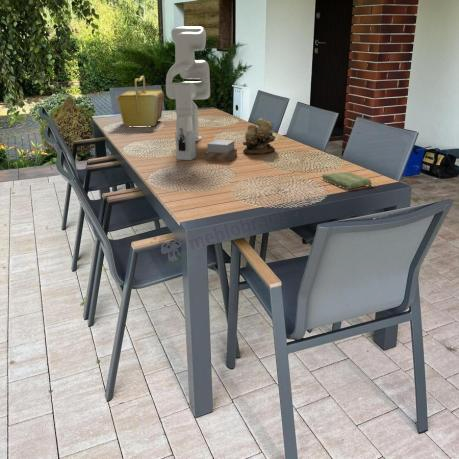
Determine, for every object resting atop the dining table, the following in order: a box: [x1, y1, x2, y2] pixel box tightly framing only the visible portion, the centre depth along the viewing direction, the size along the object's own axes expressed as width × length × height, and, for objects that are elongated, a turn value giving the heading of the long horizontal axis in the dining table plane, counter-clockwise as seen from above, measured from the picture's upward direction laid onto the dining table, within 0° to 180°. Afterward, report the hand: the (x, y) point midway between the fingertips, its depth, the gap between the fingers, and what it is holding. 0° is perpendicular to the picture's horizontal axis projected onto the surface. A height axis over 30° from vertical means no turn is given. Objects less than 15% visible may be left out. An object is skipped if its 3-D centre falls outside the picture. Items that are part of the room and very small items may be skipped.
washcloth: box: [321, 171, 372, 190], centre depth 190 cm, size 13×18×3 cm
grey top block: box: [207, 139, 235, 153], centre depth 228 cm, size 10×10×4 cm
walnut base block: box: [204, 147, 238, 162], centre depth 229 cm, size 12×12×4 cm
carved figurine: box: [242, 117, 276, 156], centre depth 237 cm, size 18×12×17 cm, turn 117°
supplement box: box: [175, 131, 197, 161], centre depth 227 cm, size 7×7×13 cm
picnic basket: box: [116, 75, 165, 127], centre depth 310 cm, size 29×26×30 cm
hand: (186, 148), depth 228 cm, fingers open, 9 cm apart
